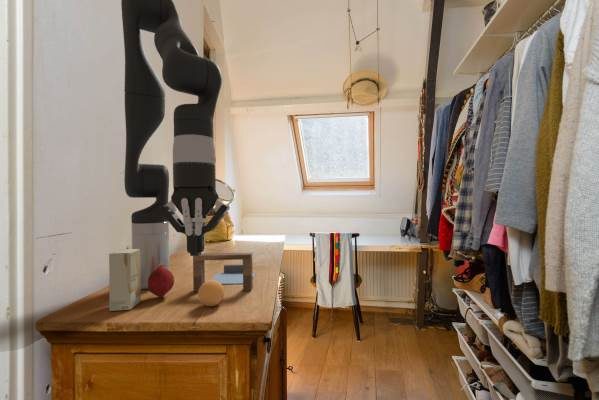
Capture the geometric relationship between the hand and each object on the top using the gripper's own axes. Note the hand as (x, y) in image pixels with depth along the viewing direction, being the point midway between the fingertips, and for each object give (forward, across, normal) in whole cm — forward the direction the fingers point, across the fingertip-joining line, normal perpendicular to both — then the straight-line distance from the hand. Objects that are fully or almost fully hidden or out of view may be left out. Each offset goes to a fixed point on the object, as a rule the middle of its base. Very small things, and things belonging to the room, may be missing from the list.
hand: (196, 255), depth 56 cm
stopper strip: (+13, 0, +39) cm, 41 cm away
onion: (+13, -14, +16) cm, 25 cm away
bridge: (+13, 0, +21) cm, 25 cm away
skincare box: (+13, -19, +11) cm, 25 cm away
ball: (+10, 0, +10) cm, 14 cm away
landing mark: (+13, 0, +32) cm, 35 cm away
